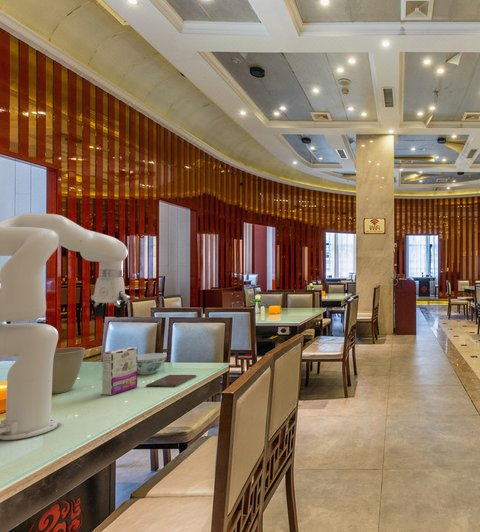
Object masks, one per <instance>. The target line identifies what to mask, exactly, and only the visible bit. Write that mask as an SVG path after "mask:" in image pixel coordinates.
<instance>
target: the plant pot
mask: <svg viewBox="0 0 480 532" xmlns="http://www.w3.org/2000/svg"><path fill="white" fill-rule="evenodd" d="M85 352H86V348H85V347H61V348H56V349H55V353H54V358H53V371H52V395H53V394H62V393H66V392H70V391H72V389H73V387H74V385H75V384H76V382H77V381H76V380H77V378H78V376H79V374H80V371H81V368H82V364H83V361H84V356H85Z"/></svg>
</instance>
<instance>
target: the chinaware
mask: <svg viewBox="0 0 480 532" xmlns="http://www.w3.org/2000/svg"><path fill="white" fill-rule="evenodd" d="M167 356H168V355H167V353H164V352H152V353H150V352H149V353H141V354H137V373H138V374H139V375H142V376H143V375H151V374H155V373H156V372H157V370H158V369H160V368H161V367H162V366H164V363H165V362H166V359H167Z"/></svg>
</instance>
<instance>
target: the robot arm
mask: <svg viewBox="0 0 480 532" xmlns="http://www.w3.org/2000/svg"><path fill="white" fill-rule="evenodd" d="M59 246H61V247H63V248H65V249H67V250H69V251H73V252H77V253H80V256H81V258H83V259H84V260H86V261H87V262H98V267H99V268H98V277H97V279H96V282H95V286H94V293H93V294H91V296H90V300H91V303H92V304H93V307H94V317H95V318H101V317H104V316H105V305H104V304H115V306H116V307H115V318H124V317H125V308H126V307H127V305H128V303H129V300H130V298H131V296H130V295H128V294H126V292H125V281H124V278H123V274H124V273H123V270H124V269H123V268H124V260H125V259H126V258H127V257H128V247H127V246H126V245H125V244H124V243H123V242H122V241H121V240H119V239H118V238H116V237H114V236H111V235H108V234H104V233H101V232H97V231H94V230H90V229H86V228H84V227H83V226H81V225H80V224H77V223H76V222H74V221H72V220H71V219H69V218H67V217H65V216H63V215H60V214H55V213H33V212H25V213H20V214H15V215H14V216H11V217H8V218H5V219H4V220H2V221H0V257H10V258H9V259H7V261H6V262H5V263H4V264H3V265H2V267H1V269H0V358H5V357H6V358H8V357H9V358H11V357H12V358H13V357H14V358H15V357H16V358H17V359H16V360H15V362H14V363H13V364H12V365H11V366H10V368H9V369H8V372H7V376H6V398H5V399H6V400H5V419H1V420H0V440H3V441H13V440H20V439H26V438H31V437H36V436H39V435H42V434H45V433H48V432H51V431H52V430H54V429H56V428H57V427H58V424H59V423H58V420H56V419H53V418H52V400H53V399H52V397H53V396H52V395H53V394H52V371H53V358H54V353H55V349H57V345H58V341H59V332H58V330H57V328H56V327H54V326H52V325H51V324H47V323H40V322H39V323H38V322H29V323H28V321H36V320H39V319H41V318H42V317H44V315H45V314H46V311H47V299H46V294H45V293H46V292H45V287H44V279H43V270H44V268H45V266H46V263H47V261H49V259H50V258H51V256H52V255H53V254H54V253H55V252H56V251H57V249H58V247H59ZM7 322H19V323H7ZM20 322H21V323H20ZM22 322H24V323H22ZM25 322H27V323H25Z"/></svg>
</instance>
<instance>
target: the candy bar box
mask: <svg viewBox="0 0 480 532" xmlns="http://www.w3.org/2000/svg"><path fill="white" fill-rule="evenodd" d="M137 355H138V347H134V346H127V347H123V348H118V349H113V350H109V351H105V352H104V351H103V352H102V384H101V385H102V391H101V393H102V395H104V396H115V395H117V394H120V393H124V392H126V391H130V390H132V389H135V388H138V371H137Z"/></svg>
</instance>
